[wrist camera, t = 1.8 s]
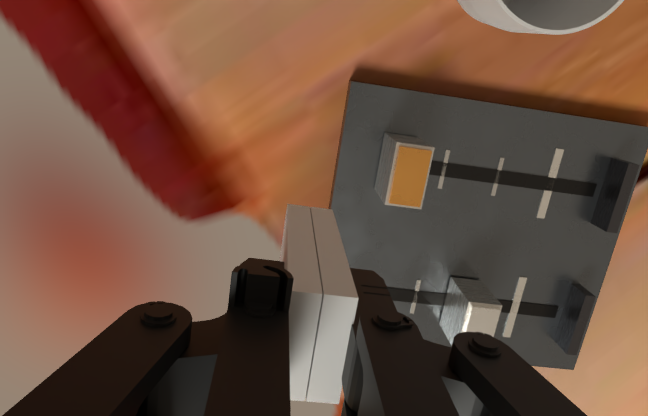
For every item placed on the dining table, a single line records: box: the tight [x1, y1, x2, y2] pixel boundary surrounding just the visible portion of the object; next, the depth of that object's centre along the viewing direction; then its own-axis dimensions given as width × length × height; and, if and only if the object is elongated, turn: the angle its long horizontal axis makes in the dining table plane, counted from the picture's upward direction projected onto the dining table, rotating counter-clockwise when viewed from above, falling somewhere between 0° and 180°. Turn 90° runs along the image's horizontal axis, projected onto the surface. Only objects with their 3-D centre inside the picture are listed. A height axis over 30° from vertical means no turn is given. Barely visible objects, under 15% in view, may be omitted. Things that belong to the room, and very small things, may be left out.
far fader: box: [439, 277, 502, 346], centre depth 37 cm, size 4×2×4 cm, turn 171°
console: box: [329, 80, 648, 370], centre depth 37 cm, size 20×22×3 cm
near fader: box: [374, 133, 435, 209], centre depth 33 cm, size 4×2×4 cm, turn 171°
